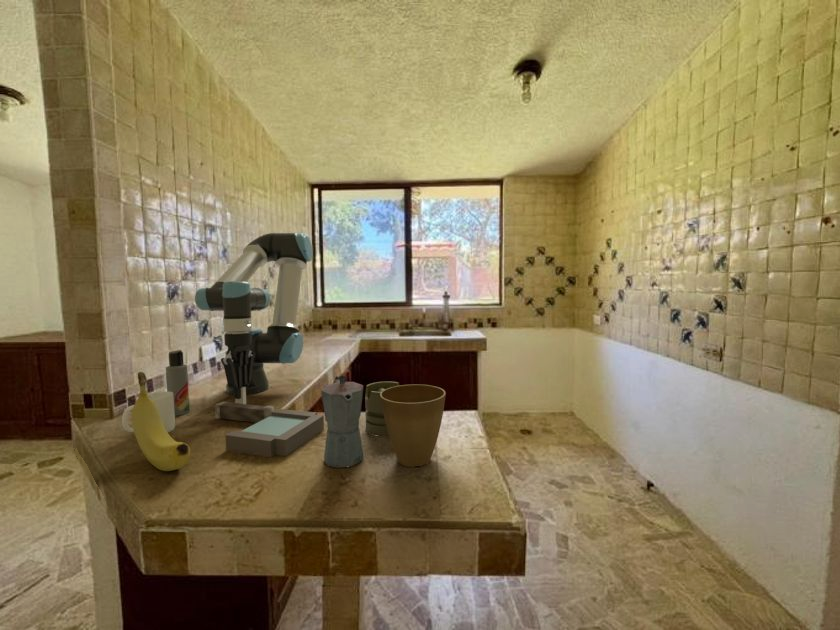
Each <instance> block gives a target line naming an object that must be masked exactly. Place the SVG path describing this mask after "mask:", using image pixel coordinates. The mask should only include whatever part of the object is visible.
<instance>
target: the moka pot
mask: <svg viewBox="0 0 840 630" xmlns="http://www.w3.org/2000/svg"><path fill="white" fill-rule="evenodd" d="M346 377H347V376H346V375H340V376H335V377H334V382H333V383H330V384H326V385H324V387H323V388H322V389H321V391H320V392H321V393H320V394H321V400H322V406H323V411H324V412H323V413H324V419H325V420H324V421H325V422H326V424H327V425H326V426H327V430H326V436H325V437H326V438H325V446H324V454H323V456H324V457H323V461H324V463H325V464H326V465H327V466H328V467H330V466H332V467H331V468H333V467H347V466H351V467H353V466H352V465H354V464H356V465H358V464H359V463H361V462H362V460H363V458H364V451H363V450H364V449H363V443H362V438H361V431H360V427H359V426H360V418H361V413H362V402H363V396H364V395H363V394H364V385H363V384H361V383H358V382H355V381H346V380H347V379H346ZM357 463H358V464H357ZM354 466H355V465H354ZM347 468H348V467H347Z"/></svg>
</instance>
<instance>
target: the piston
mask: <svg viewBox="0 0 840 630" xmlns="http://www.w3.org/2000/svg"><path fill="white" fill-rule="evenodd" d="M395 386H400V382H397V381H377V382H373V383H372V382H371V383H369V384H367V385H366V386H365V396H364V397H365V404H364V405H365V432H366V431H367V432H368V433H367V432H366V433H367V434H369V433H370V434H369V435H371V434H373V435H372V436H374V435H378V436H377V437H382V436H386V437H389V434H388V430H387V427H386V423H385V419H384V414H383V409H382V403H381V397H380V393H381V392H382V391H383V390H385V389H388V388H391V387H395Z"/></svg>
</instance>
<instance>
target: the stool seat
mask: <svg viewBox="0 0 840 630" xmlns="http://www.w3.org/2000/svg"><path fill="white" fill-rule="evenodd" d="M324 419H325V414H324V415H322V414H321V415H320V414H318V412H313V411H305V410H296V409H295V410H294V409H284V408H277V409H274V411H273V412H272V415H271V416H269V417H267V418H266V419H264V420H262V421H260V422H258V423H253V424H252V425H250V426H248V427H246V428H244V429H243V430H233V431H231V432H229V433H227V434H225V436H224V437H225V451H226V452H232V453H237V454H238V453H239V454H245V455H250V456H252V455H253V456H258V457H263V458H264V457H265V458H273V457H274V456H281V457H287V456H289V455H290V454H292V453H293V452H295V450H297V449H299V448H300V447H301V446H303V445H304V444H305V443H307V442H308V441H310V440H311V439H312V438H314V437H315V436H317V435H318V434H320V433H321V432H322V431H324V430H325V423H324V421H325V420H324Z"/></svg>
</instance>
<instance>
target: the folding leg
mask: <svg viewBox="0 0 840 630" xmlns="http://www.w3.org/2000/svg"><path fill="white" fill-rule="evenodd" d="M273 411H275V406H274V405H266V406H265V405H257V404H256V405H255V404H247V403H246V404H238V403H235V402H229V401H221V402H218V403H216V404H214V412H215V414H214V416H215V419H219V420H221V419H223V420H232V421H240V422H248V423H254V424H256V423H258V422H260V421H262V420H264V419H266V418H267V417H269V416H271V415H272V412H273Z"/></svg>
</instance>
